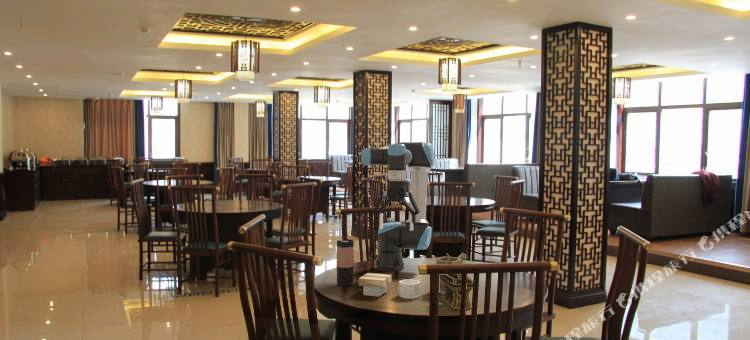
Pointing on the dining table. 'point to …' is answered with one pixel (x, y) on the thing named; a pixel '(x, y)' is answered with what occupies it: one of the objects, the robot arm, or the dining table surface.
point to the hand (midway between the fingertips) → (396, 229)
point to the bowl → (409, 289)
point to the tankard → (453, 259)
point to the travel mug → (345, 263)
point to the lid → (375, 280)
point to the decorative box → (455, 288)
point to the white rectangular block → (374, 291)
